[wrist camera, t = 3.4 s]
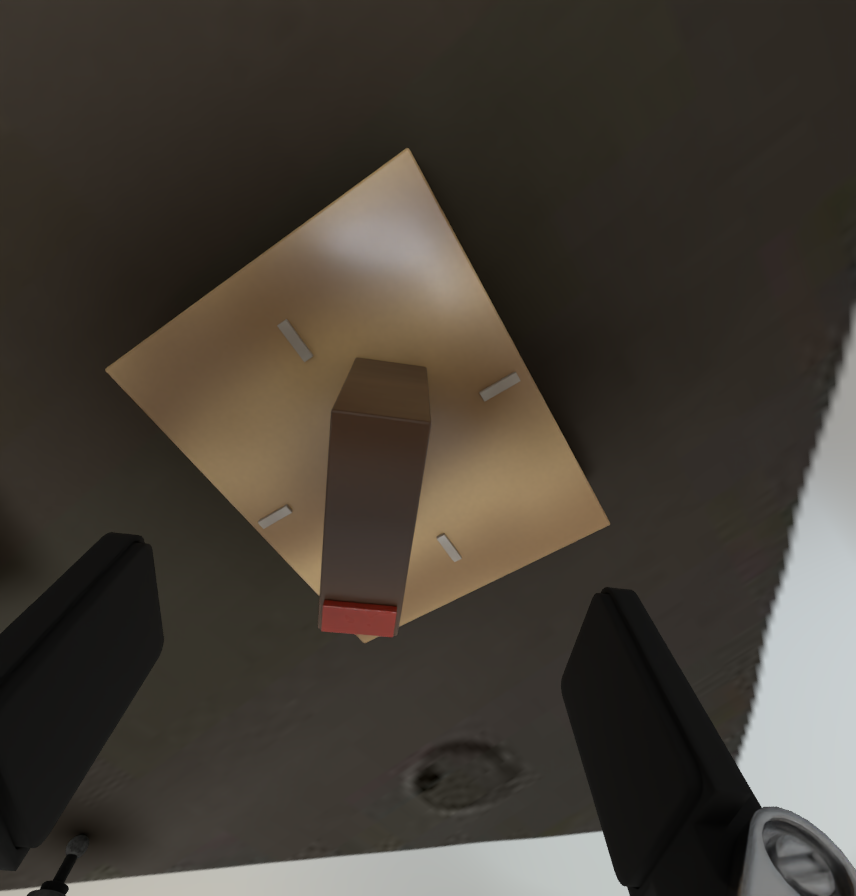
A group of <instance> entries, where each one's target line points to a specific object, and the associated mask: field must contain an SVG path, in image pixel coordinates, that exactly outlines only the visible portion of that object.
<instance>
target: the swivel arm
mask: <svg viewBox="0 0 856 896" xmlns="http://www.w3.org/2000/svg"><path fill="white" fill-rule="evenodd" d="M431 425H432V422H431V411H430V399H429V387H428V375H427V367H424V366H417V365H409V364H402V363H395V362H387V361H380V360H373V359H365V358H358V357H357V358H355V360H354V363H353V365H352V367H351V369H350V371H349V373H348V376H347V378H346V380H345V382H344V384H343V386H342V388H341V391H340V393H339V395H338V397H337V399H336V401H335V404H334V406H333V408H332V410H331V417H330V433H329V449H328V465H327V482H326V498H325V514H324V530H323V547H322V563H321V579H320V595H319V612H318V628H319V629H321V631H325V632H337V633H348V634H360V635H371V636H383V637H393V635H397V634H398V630H399V624H400V617H401V611H402V605H403V599H404V593H405V586H406V580H407V574H408V568H409V562H410V555H411V549H412V543H413V537H414V531H415V524H416V518H417V512H418V506H419V500H420V493H421V487H422V481H423V475H424V469H425V462H426V456H427V450H428V444H429V438H430V431H431Z"/></svg>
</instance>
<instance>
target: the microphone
mask: <svg viewBox="0 0 856 896" xmlns="http://www.w3.org/2000/svg"><path fill="white" fill-rule="evenodd" d="M88 846H89V839H88V837H87V836H86V835H78V836H76V837H74V838H73V839H72V840H71V841H70V842H69V843H68V845H67V847H66V858H65V859H64V861H63V863H62V865H61V867H60V868H59V870H58V872H57V874H56V876H55V877H54V879H53V881H46V882H44V883H43V884H42V886H41V888H40V890H35V891H32V892H30V893H29V894H28V895H27V896H65V894H66V893H67V891H68V890H69V888H68V886H67V885H66V884H64V882H65V880H66V878H67V876H68V874H69V873H70V871H71V869H72V867H73V865H74V863H75V861H76V860H77V858H79V857H81V856H82V855H83V854H84V853H85V852H86V850H87V848H88Z"/></svg>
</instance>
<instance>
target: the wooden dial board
mask: <svg viewBox="0 0 856 896" xmlns="http://www.w3.org/2000/svg"><path fill="white" fill-rule="evenodd" d="M357 357H358V358H365V359H373V360H380V361H387V362H395V363H402V364H409V365H417V366H424V367H427V375H428V387H429V399H430V411H431V422H432V425H431V431H430V438H429V444H428V450H427V456H426V462H425V469H424V475H423V481H422V487H421V493H420V500H419V506H418V512H417V518H416V524H415V531H414V537H413V543H412V549H411V555H410V562H409V568H408V574H407V580H406V586H405V593H404V599H403V605H402V611H401V617H400V624H399V626H402V625H404V624H406V623H408V622H410V621H412V620H414V619H416V618H418V617H420V616H422V615H424V614H426V613H428V612H430V611H433V610H435V609H437V608H439V607H441V606H443V605H445V604H447V603H449V602H451V601H453V600H455V599H457V598H459V597H461V596H464V595H466V594H468V593H470V592H472V591H474V590H476V589H478V588H480V587H482V586H484V585H486V584H488V583H490V582H493V581H495V580H497V579H499V578H501V577H503V576H505V575H507V574H509V573H511V572H513V571H515V570H517V569H519V568H521V567H524V566H526V565H528V564H530V563H532V562H534V561H536V560H538V559H540V558H542V557H544V556H546V555H548V554H550V553H552V552H555V551H557V550H559V549H561V548H563V547H565V546H567V545H569V544H571V543H573V542H575V541H577V540H579V539H581V538H583V537H586V536H588V535H590V534H592V533H594V532H596V531H598V530H600V529H602V528H604V527H606V526H608V525H610V522H609V520H608V518H607V516H606V514H605V512H604V510H603V508H602V507H601V505H600V503H599V501H598V499H597V497H596V495H595V494H594V492H593V490H592V488H591V486H590V484H589V482H588V481H587V479H586V477H585V475H584V473H583V471H582V469H581V468H580V466H579V464H578V462H577V460H576V458H575V456H574V454H573V453H572V451H571V449H570V447H569V445H568V443H567V441H566V440H565V438H564V436H563V434H562V432H561V430H560V428H559V427H558V425H557V423H556V421H555V419H554V417H553V415H552V413H551V412H550V410H549V408H548V406H547V404H546V402H545V400H544V399H543V397H542V395H541V393H540V391H539V389H538V387H537V386H536V384H535V382H534V380H533V378H532V376H531V374H530V373H529V371H528V369H527V367H526V365H525V363H524V361H523V359H522V358H521V356H520V354H519V352H518V350H517V348H516V346H515V345H514V343H513V341H512V339H511V337H510V335H509V333H508V332H507V330H506V328H505V326H504V324H503V322H502V320H501V319H500V317H499V315H498V313H497V311H496V309H495V307H494V305H493V304H492V302H491V300H490V298H489V296H488V294H487V292H486V291H485V289H484V287H483V285H482V283H481V281H480V279H479V278H478V276H477V274H476V272H475V270H474V268H473V266H472V265H471V263H470V261H469V259H468V257H467V255H466V253H465V251H464V250H463V248H462V246H461V244H460V242H459V240H458V238H457V237H456V235H455V233H454V231H453V229H452V227H451V225H450V224H449V222H448V220H447V218H446V216H445V214H444V212H443V211H442V209H441V207H440V205H439V203H438V201H437V199H436V197H435V196H434V194H433V192H432V190H431V188H430V186H429V184H428V183H427V181H426V179H425V177H424V175H423V173H422V171H421V170H420V168H419V166H418V164H417V162H416V160H415V158H414V156H413V155H412V153H411V151H410V149H409V148H406V149H404V150H403V151H402V152H400V153H399V154H398V155H396V156H395V157H394V158H392V159H391V160H389V161H388V162H387V163H385V164H384V165H383V166H381V167H380V168H379V169H377V170H376V171H374V172H373V173H372V174H370V175H369V176H368V177H366V178H365V179H364V180H362V181H361V182H359V183H358V184H357V185H355V186H354V187H353V188H351V189H350V190H348V191H347V192H346V193H344V194H343V195H342V196H340V197H339V198H338V199H336V200H335V201H333V202H332V203H331V204H329V205H328V206H327V207H325V208H324V209H323V210H321V211H320V212H318V213H317V214H316V215H314V216H313V217H312V218H310V219H309V220H308V221H306V222H305V223H303V224H302V225H301V226H299V227H298V228H297V229H295V230H294V231H293V232H291V233H290V234H288V235H287V236H286V237H284V238H283V239H282V240H280V241H279V242H277V243H276V244H275V245H273V246H272V247H271V248H269V249H268V250H267V251H265V252H264V253H262V254H261V255H260V256H258V257H257V258H256V259H254V260H253V261H252V262H250V263H249V264H247V265H246V266H245V267H243V268H242V269H241V270H239V271H238V272H237V273H235V274H234V275H232V276H231V277H230V278H228V279H227V280H226V281H224V282H223V283H222V284H220V285H219V286H217V287H216V288H215V289H213V290H212V291H211V292H209V293H208V294H206V295H205V296H204V297H202V298H201V299H200V300H198V301H197V302H196V303H194V304H193V305H191V306H190V307H189V308H187V309H186V310H185V311H183V312H182V313H181V314H179V315H178V316H176V317H175V318H174V319H172V320H171V321H170V322H168V323H167V324H166V325H164V326H163V327H161V328H160V329H159V330H157V331H156V332H155V333H153V334H152V335H151V336H149V337H148V338H146V339H145V340H144V341H142V342H141V343H140V344H138V345H137V346H136V347H134V348H133V349H131V350H130V351H129V352H127V353H126V354H125V355H123V356H122V357H120V358H119V359H118V360H116V361H115V362H114V363H112V364H111V365H110V366H108V367H107V368H106V369H105V371H106V372H107V373H108V374H109V375H110V376H111V377H112V378H113V379H114V380H115V381H116V382H117V384H118V385H119V386H120V387H121V388H122V389H123V390H124V391H125V392H126V393H127V394H128V395H129V396H130V397H131V398H132V399H133V400H134V401H135V402H136V404H137V405H138V406H139V407H140V408H141V409H142V410H143V411H144V412H145V413H146V414H147V415H148V416H149V417H150V418H151V419H152V420H153V421H154V422H155V424H156V425H157V426H158V427H159V428H160V429H161V430H162V431H163V432H164V433H165V434H166V435H167V436H168V437H169V438H170V439H171V440H172V441H173V442H174V444H175V445H176V446H177V447H178V448H179V449H180V450H181V451H182V452H183V453H184V454H185V455H186V456H187V457H188V458H189V459H190V460H191V461H192V463H193V464H194V465H195V466H196V467H197V468H198V469H199V470H200V471H201V472H202V473H203V474H204V475H205V476H206V477H207V478H208V479H209V480H210V481H211V483H212V484H213V485H214V486H215V487H216V488H217V489H218V490H219V491H220V492H221V493H222V494H223V495H224V496H225V497H226V498H227V499H228V500H229V501H230V503H231V504H232V505H233V506H234V507H235V508H236V509H237V510H238V511H239V512H240V513H241V514H242V515H243V516H244V517H245V518H246V519H247V520H248V521H249V523H250V524H251V525H252V526H253V527H254V528H255V529H256V530H257V531H258V532H259V533H260V534H261V535H262V536H263V537H264V538H265V539H266V540H267V542H268V543H269V544H270V545H271V546H272V547H273V548H274V549H275V550H276V551H277V552H278V553H279V554H280V555H281V556H282V557H283V558H284V559H285V560H286V562H287V563H288V564H289V565H290V566H291V567H292V568H293V569H294V570H295V571H296V572H297V573H298V574H299V575H300V576H301V577H302V578H303V579H304V580H305V582H306V583H307V584H308V585H309V586H310V587H311V588H312V589H313V590H314V591H315V592H316V593H317V594H318V595H320V579H321V563H322V547H323V530H324V514H325V498H326V482H327V465H328V449H329V433H330V417H331V410H332V408H333V406H334V404H335V401H336V399H337V397H338V395H339V393H340V391H341V388H342V386H343V384H344V382H345V380H346V378H347V376H348V373H349V371H350V369H351V367H352V365H353V363H354V360H355V358H357ZM356 635H357V636H358V637H359V638H360V639H361V641H362V642H363V643H366V642H368V641H371V640H373V639H375V638H377V637H379V636H371V635H360V634H356Z"/></svg>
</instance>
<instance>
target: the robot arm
mask: <svg viewBox="0 0 856 896" xmlns="http://www.w3.org/2000/svg"><path fill="white" fill-rule="evenodd" d="M163 642H164V636H163V629H162V621H161V613H160V606H159V598H158V590H157V583H156V575H155V567H154V559H153V552H152V547H151V545H150V544H146V543H145V542H144V539H143V538H142V536H139V535H131V534H122V533H113V532H110V533H107V534H106V535H104V536H103V537H102V538H101V539H100V540H99V541H98V542H97V543H95V544H94V545H93V546H92V547H91V548H90V549H89V550H88V551H87V552H86V553H85V554H84V555H83V556H82V557H81V558H80V559H79V560H78V561H77V562H76V563H75V564H74V565H72V566H71V567H70V568H69V569H68V570H67V571H66V572H65V573H64V574H63V575H62V576H61V577H60V578H59V579H58V580H57V581H56V582H55V583H54V584H53V585H52V586H51V587H49V588H48V589H47V590H46V591H45V592H44V593H43V594H42V595H41V596H40V597H39V598H38V599H37V600H36V601H35V602H34V603H33V604H31V605H30V606H29V607H28V608H27V609H26V610H25V611H24V612H23V613H22V614H21V615H20V616H19V617H18V618H17V619H16V620H14V621H13V622H12V623H11V624H10V625H9V626H8V627H7V628H6V629H5V630H4V631H3V632H2V633H1V634H0V870H9V871H16V870H17V868H18V867H19V865H20V864H21V862H22V860H23V859H24V857H25V856H26V854H27V853H28V851H29V849H30V848H36V847H38V846H39V845H41V844H42V842H43V841H44V840H45V839H46V838H47V836H48V835H49V833H50V832H51V830H52V829H53V827H54V825H55V824H56V822H57V821H58V819H59V817H60V816H61V814H62V813H63V811H64V809H65V808H66V806H67V804H68V803H69V801H70V800H71V798H72V796H73V795H74V793H75V792H76V790H77V788H78V787H79V785H80V783H81V782H82V780H83V779H84V777H85V775H86V774H87V772H88V771H89V769H90V767H91V766H92V764H93V763H94V761H95V759H96V758H97V756H98V754H99V753H100V751H101V750H102V748H103V746H104V745H105V743H106V742H107V740H108V738H109V737H110V735H111V733H112V732H113V730H114V729H115V727H116V725H117V724H118V722H119V721H120V719H121V717H122V716H123V714H124V712H125V711H126V709H127V708H128V706H129V704H130V703H131V701H132V700H133V698H134V696H135V695H136V693H137V692H138V690H139V688H140V687H141V685H142V683H143V682H144V680H145V679H146V677H147V675H148V674H149V672H150V671H151V669H152V667H153V666H154V664H155V662H156V661H157V659H158V657H159V656H160V653H161V651H162V647H163ZM561 690H562V696H563V699H564V703H565V706H566V709H567V713H568V716H569V719H570V723H571V726H572V730H573V733H574V736H575V740H576V743H577V746H578V750H579V753H580V756H581V760H582V763H583V767H584V770H585V773H586V777H587V780H588V783H589V787H590V790H591V793H592V797H593V800H594V803H595V807H596V810H597V814H598V817H599V820H600V824H601V827H602V830H603V834H604V837H605V840H606V844H607V847H608V850H609V854H610V857H611V861H612V864H613V867H614V871H615V873H616V876H617V878H618V880H619V882H620V883H621V884H622V885H623V886H627V887H628V890H629V894H630V896H856V870H855V868H854V867H853V866H852V864H851V863H850V862H849V860H848V859H847V857H846V856H845V855H844V854H843V852H842V851H841V850H840V849H839V848H838V847H837V846H836V845H835V844H834V843H833V841H831V839H829V837H828V836H827V835H826V834H825V833H823V832H822V831H821V830H819V829H818V828H817V827H816V826H814V825H813V824H812V823H810V822H809V821H808V820H806V819H804V818H802V817H801V816H799V815H797V814H795V813H793V812H792V811H789V810H785V809H782V808H779V807H763V808H761V806H760V804H759V802H758V801H757V799H756V797H755V796H754V794H753V792H752V790H751V789H750V787H749V785H748V784H747V782H746V780H745V778H744V777H743V775H742V773H741V772H740V770H739V768H738V766H737V765H736V763H735V761H734V760H733V758H732V756H731V754H730V753H729V751H728V749H727V748H726V746H725V744H724V742H723V741H722V739H721V737H720V736H719V734H718V732H717V730H716V729H715V727H714V725H713V724H712V722H711V720H710V719H709V717H708V715H707V713H706V712H705V710H704V708H703V707H702V705H701V703H700V701H699V700H698V698H697V696H696V695H695V693H694V691H693V689H692V688H691V686H690V684H689V683H688V681H687V679H686V677H685V676H684V674H683V672H682V671H681V669H680V668H679V666H678V664H677V662H676V661H675V659H674V657H673V656H672V654H671V652H670V650H669V649H668V647H667V645H666V644H665V642H664V640H663V638H662V637H661V635H660V633H659V632H658V630H657V628H656V626H655V625H654V623H653V621H652V620H651V618H650V616H649V614H648V613H647V611H646V609H645V608H644V606H643V604H642V603H641V601H640V599H639V597H638V596H637V594H636V593H635V592H634V591H632V590H627V589H618V588H609V587H606V588H604V589H603V590H602V591H601V593H596V594H595V595H594V596H593V598H592V601H591V604H590V606H589V609H588V611H587V614H586V617H585V619H584V622H583V624H582V627H581V630H580V632H579V635H578V637H577V640H576V642H575V645H574V648H573V650H572V653H571V655H570V658H569V661H568V663H567V666H566V668H565V671H564V674H563V676H562V681H561Z"/></svg>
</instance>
